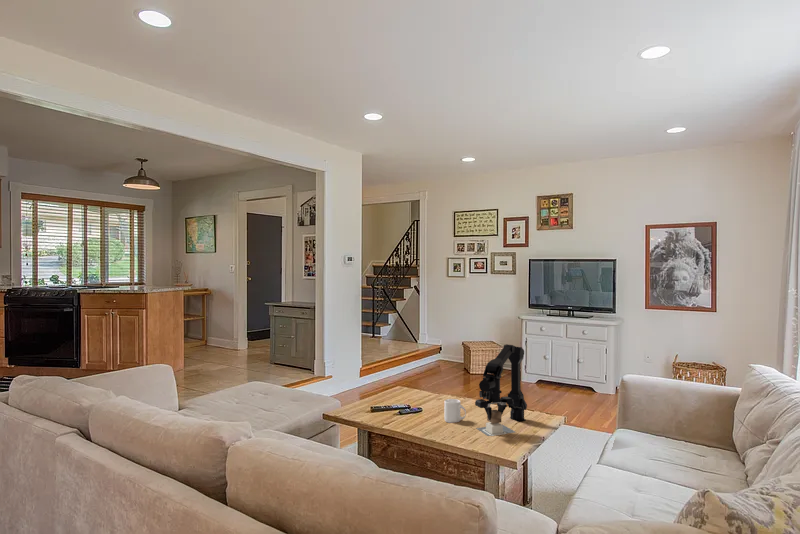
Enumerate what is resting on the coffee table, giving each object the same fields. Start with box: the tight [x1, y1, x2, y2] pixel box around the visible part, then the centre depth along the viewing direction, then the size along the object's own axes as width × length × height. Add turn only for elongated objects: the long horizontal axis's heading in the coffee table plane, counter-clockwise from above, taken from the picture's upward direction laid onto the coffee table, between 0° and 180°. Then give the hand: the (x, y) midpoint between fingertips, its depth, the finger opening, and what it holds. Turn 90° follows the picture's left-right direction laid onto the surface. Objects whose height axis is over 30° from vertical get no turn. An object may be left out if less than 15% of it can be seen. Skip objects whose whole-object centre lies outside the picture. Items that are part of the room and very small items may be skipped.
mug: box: [443, 398, 467, 424], centre depth 253 cm, size 9×12×11 cm
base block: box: [485, 421, 504, 435], centre depth 235 cm, size 6×6×4 cm
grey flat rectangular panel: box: [475, 424, 516, 437], centre depth 237 cm, size 16×12×1 cm
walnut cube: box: [486, 409, 502, 424], centre depth 235 cm, size 5×5×5 cm
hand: (494, 419), depth 235 cm, fingers closed on walnut cube, 5 cm apart
